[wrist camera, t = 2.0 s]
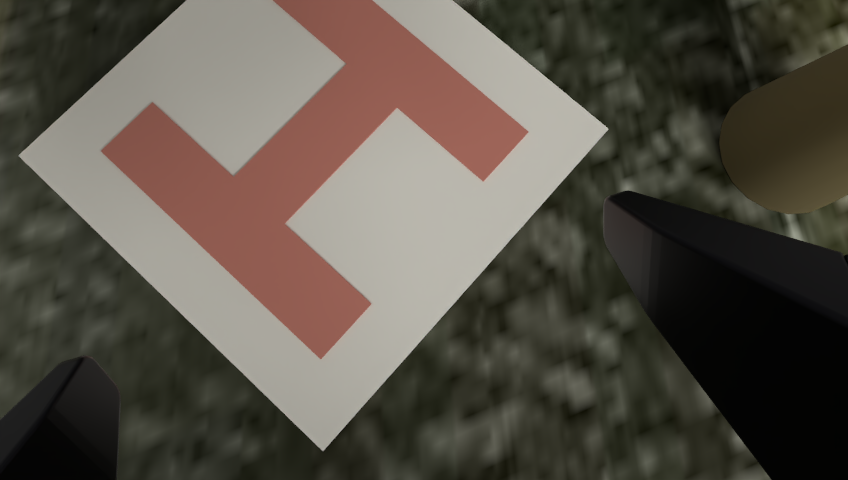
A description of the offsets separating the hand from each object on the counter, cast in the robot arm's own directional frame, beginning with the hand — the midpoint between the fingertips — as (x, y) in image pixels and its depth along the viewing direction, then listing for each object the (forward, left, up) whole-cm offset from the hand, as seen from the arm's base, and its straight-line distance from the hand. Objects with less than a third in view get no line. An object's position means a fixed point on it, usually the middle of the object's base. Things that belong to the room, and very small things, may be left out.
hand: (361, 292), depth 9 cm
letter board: (+3, +7, -14) cm, 16 cm away
